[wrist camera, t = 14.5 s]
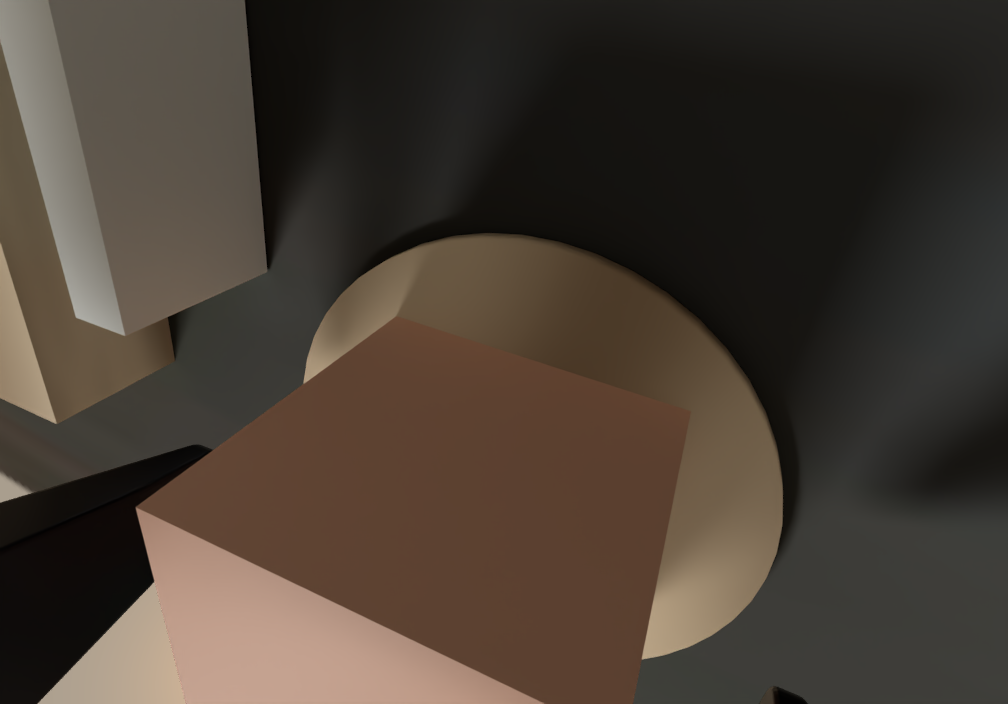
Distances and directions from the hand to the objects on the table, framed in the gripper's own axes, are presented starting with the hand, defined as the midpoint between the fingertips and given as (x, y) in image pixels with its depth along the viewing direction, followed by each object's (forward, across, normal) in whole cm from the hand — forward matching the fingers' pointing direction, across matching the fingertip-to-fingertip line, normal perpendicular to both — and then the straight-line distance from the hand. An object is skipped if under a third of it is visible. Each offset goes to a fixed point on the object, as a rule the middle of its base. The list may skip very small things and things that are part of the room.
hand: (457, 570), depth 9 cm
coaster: (+3, 0, 0) cm, 3 cm away
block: (+2, 0, 0) cm, 2 cm away
